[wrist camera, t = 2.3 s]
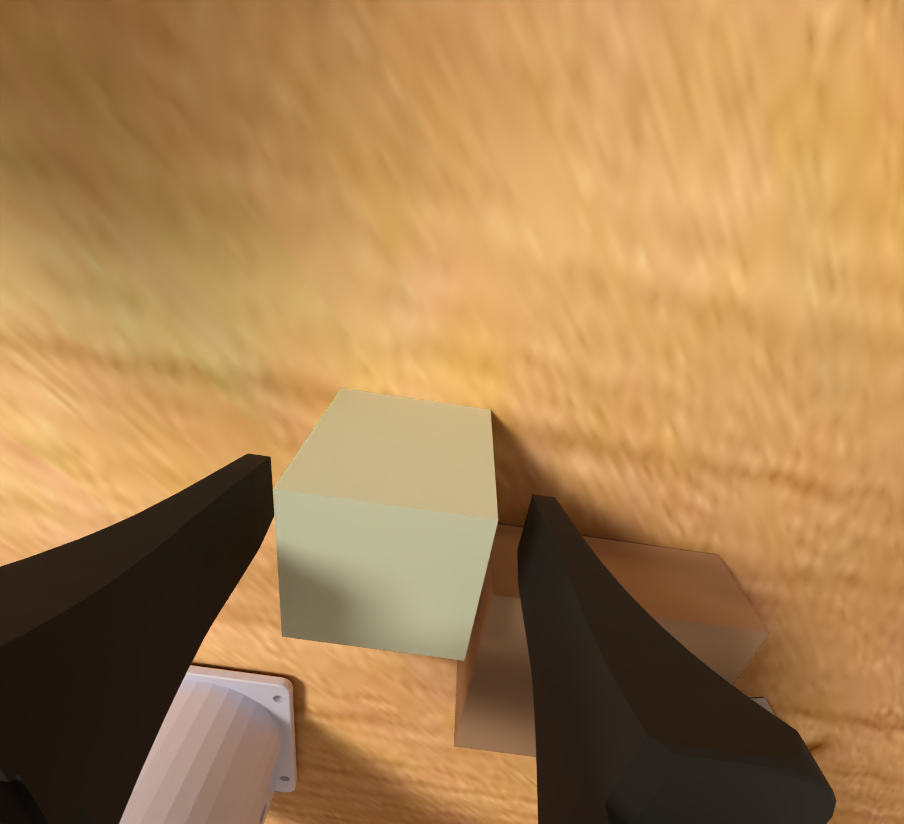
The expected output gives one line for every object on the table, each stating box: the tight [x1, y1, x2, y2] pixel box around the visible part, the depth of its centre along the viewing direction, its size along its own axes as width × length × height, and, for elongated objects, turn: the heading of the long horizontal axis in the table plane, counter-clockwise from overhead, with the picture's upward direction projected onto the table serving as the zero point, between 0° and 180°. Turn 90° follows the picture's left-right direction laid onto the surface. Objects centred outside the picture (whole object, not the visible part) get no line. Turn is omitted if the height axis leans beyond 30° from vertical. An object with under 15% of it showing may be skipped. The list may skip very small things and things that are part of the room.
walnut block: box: [454, 524, 770, 757], centre depth 16 cm, size 8×8×3 cm
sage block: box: [273, 388, 498, 661], centre depth 12 cm, size 4×4×5 cm
